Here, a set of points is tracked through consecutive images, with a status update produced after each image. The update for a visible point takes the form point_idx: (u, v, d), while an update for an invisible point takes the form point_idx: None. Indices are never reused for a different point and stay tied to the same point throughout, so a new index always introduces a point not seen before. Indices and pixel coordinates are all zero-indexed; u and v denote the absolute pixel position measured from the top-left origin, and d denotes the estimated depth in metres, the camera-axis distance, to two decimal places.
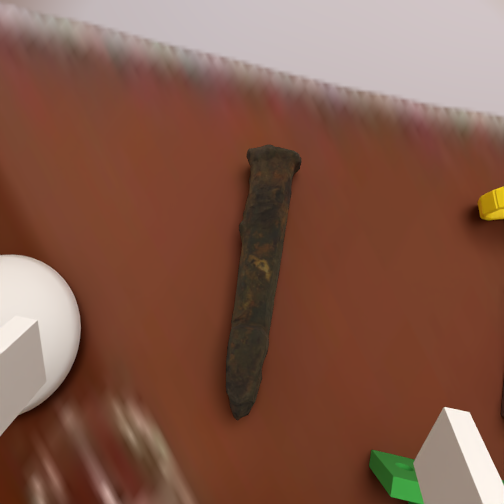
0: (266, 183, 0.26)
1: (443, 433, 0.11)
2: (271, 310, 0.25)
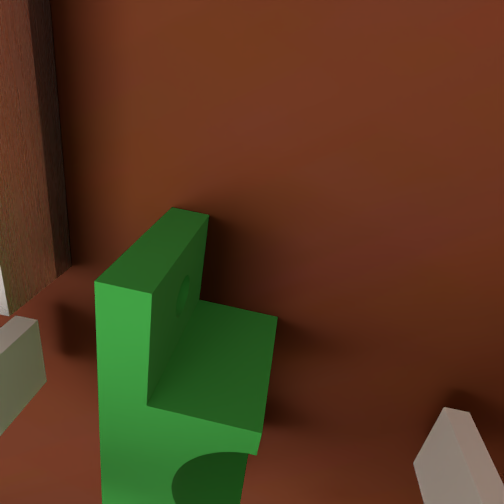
0: None
1: (443, 433, 0.11)
2: None
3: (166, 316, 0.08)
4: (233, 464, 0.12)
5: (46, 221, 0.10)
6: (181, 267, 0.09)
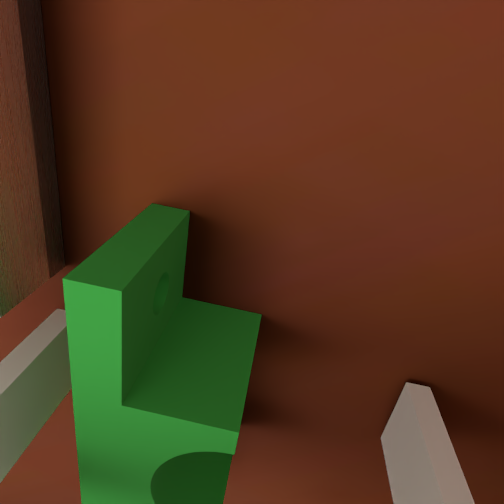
0: None
1: (404, 406, 0.12)
2: None
3: (141, 314, 0.08)
4: (217, 463, 0.12)
5: (38, 220, 0.10)
6: (158, 264, 0.09)
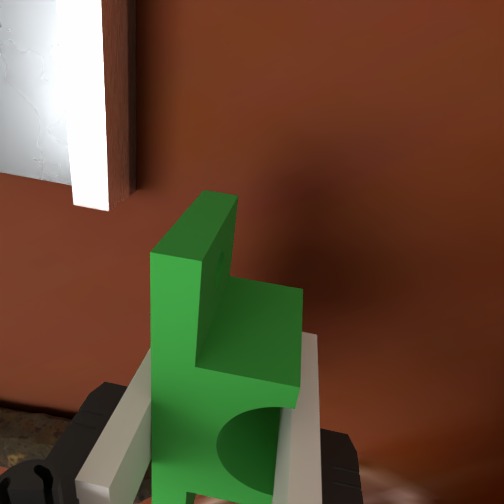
0: None
1: None
2: None
3: (209, 286, 0.09)
4: (266, 429, 0.13)
5: (127, 153, 0.16)
6: (219, 242, 0.10)
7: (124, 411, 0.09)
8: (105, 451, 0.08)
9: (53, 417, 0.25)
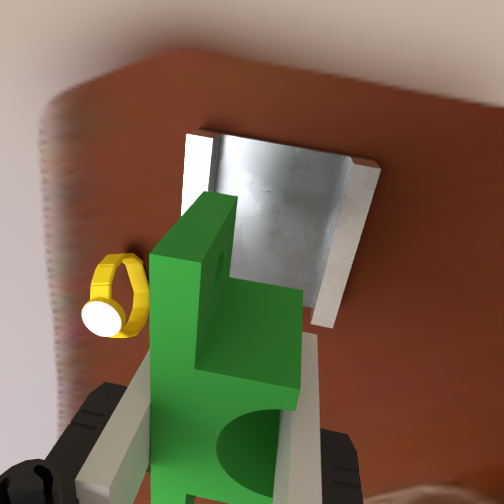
0: (148, 468, 0.34)
1: None
2: None
3: (208, 287, 0.09)
4: (266, 431, 0.13)
5: None
6: (219, 243, 0.09)
7: (124, 411, 0.09)
8: (105, 451, 0.08)
9: None
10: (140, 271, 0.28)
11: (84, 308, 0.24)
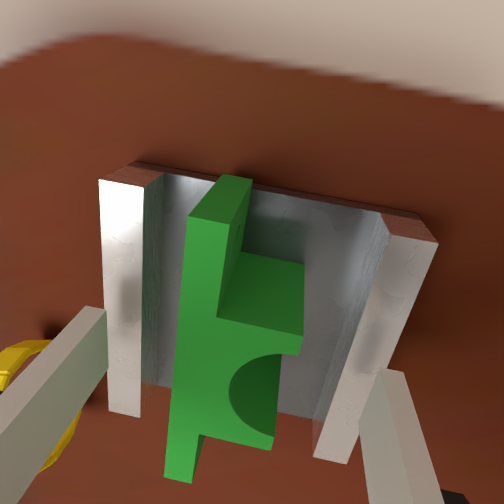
0: None
1: (378, 390, 0.12)
2: None
3: (230, 250, 0.11)
4: (268, 386, 0.15)
5: None
6: (239, 215, 0.11)
7: None
8: None
9: None
10: None
11: None
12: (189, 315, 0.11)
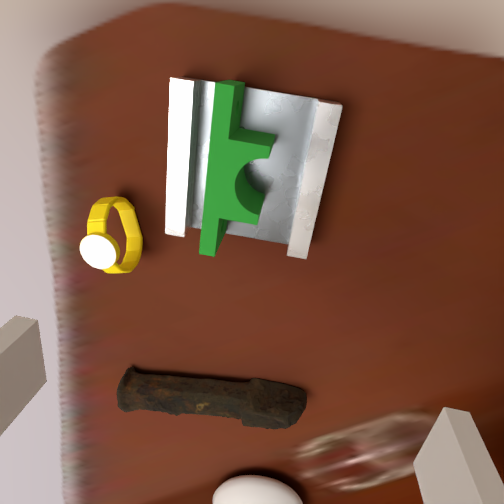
0: (144, 405, 0.37)
1: (443, 433, 0.11)
2: (229, 398, 0.36)
3: (234, 107, 0.22)
4: (256, 202, 0.26)
5: None
6: (238, 92, 0.23)
7: None
8: None
9: (217, 380, 0.38)
10: (132, 216, 0.31)
11: (82, 242, 0.26)
12: (215, 139, 0.22)
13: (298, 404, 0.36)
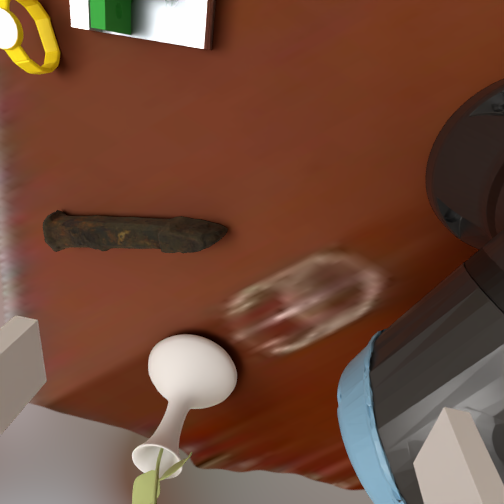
0: (70, 239, 0.38)
1: (443, 433, 0.11)
2: (148, 226, 0.37)
3: None
4: None
5: (211, 22, 0.30)
6: None
7: None
8: None
9: None
10: (48, 27, 0.33)
11: None
12: None
13: (215, 230, 0.37)
